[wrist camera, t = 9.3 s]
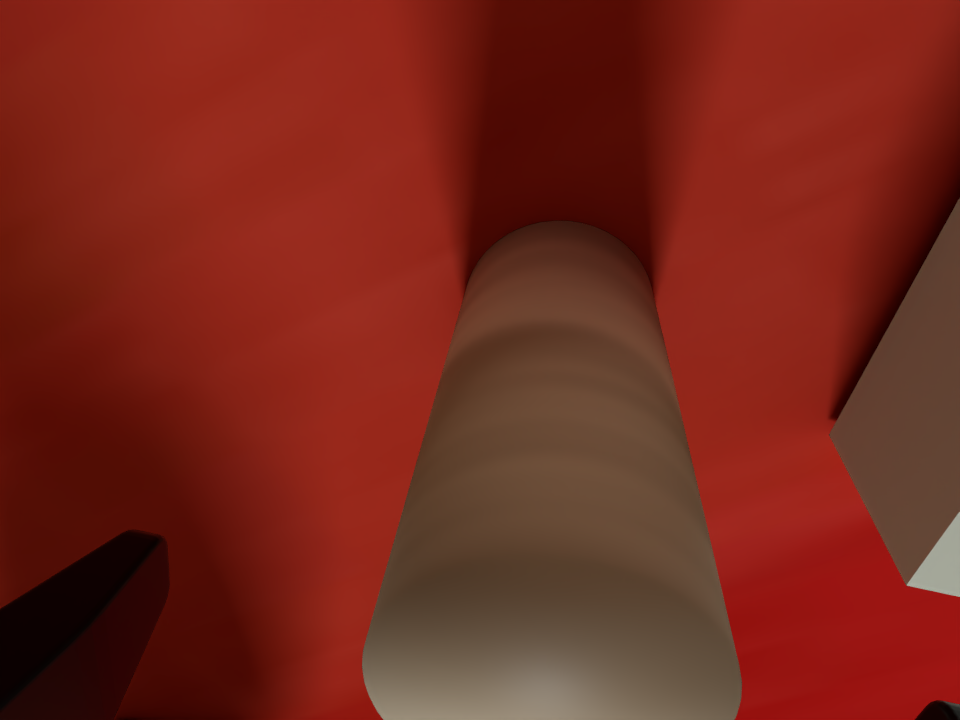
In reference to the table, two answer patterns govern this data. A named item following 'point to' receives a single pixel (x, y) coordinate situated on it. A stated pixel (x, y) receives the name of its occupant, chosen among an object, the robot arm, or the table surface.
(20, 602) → the robot arm
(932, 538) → the block
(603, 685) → the dowel
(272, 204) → the table surface
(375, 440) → the table surface
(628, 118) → the table surface
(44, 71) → the table surface
